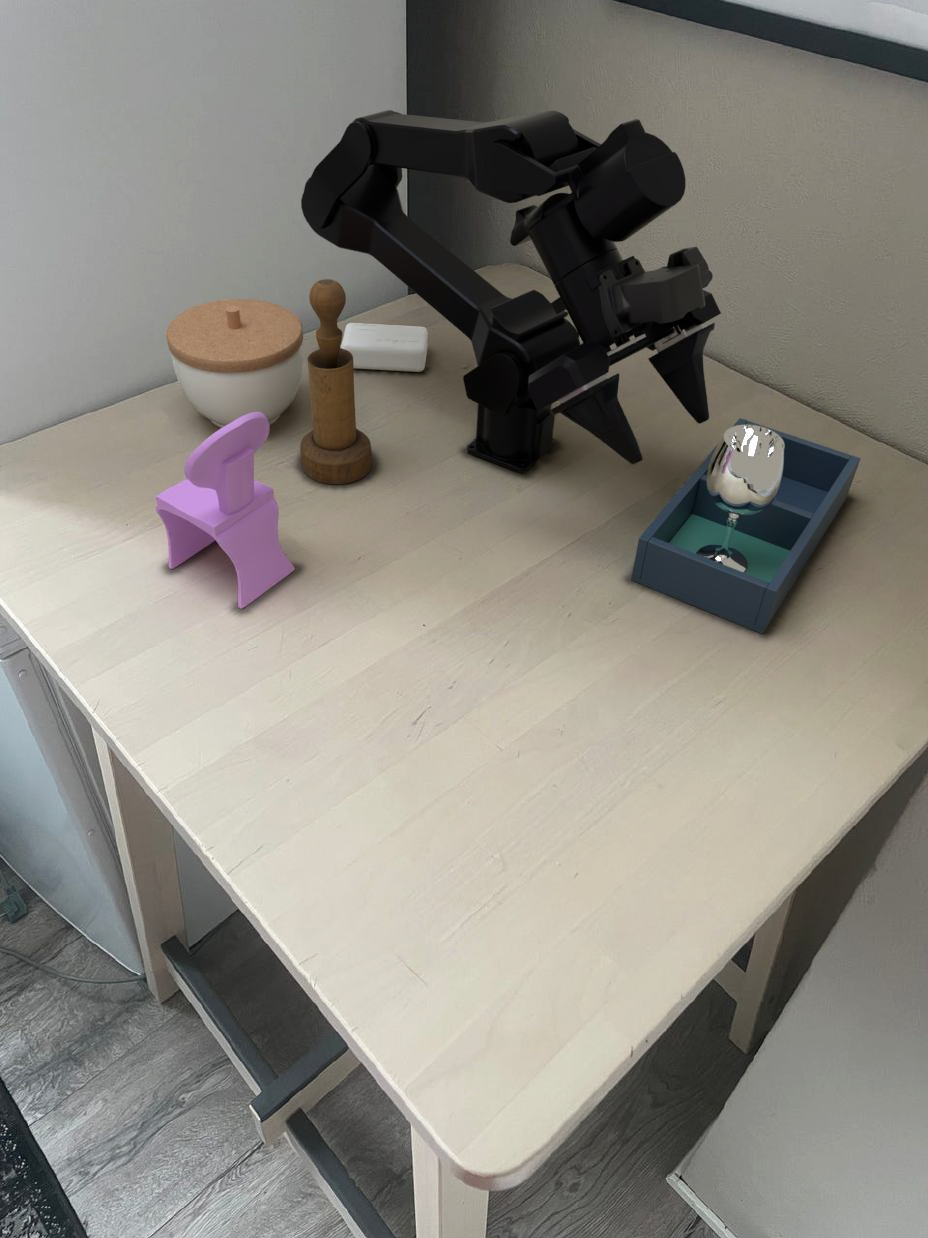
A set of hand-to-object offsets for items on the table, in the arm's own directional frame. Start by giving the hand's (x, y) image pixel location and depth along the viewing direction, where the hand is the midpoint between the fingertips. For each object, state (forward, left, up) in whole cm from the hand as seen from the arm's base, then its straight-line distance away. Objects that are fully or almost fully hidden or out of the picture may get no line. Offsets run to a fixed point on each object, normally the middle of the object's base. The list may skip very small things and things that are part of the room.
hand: (671, 441), depth 85 cm
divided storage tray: (+7, +4, -9) cm, 12 cm away
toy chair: (-27, -25, -9) cm, 38 cm away
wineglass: (+7, -2, -9) cm, 11 cm away
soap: (-37, +11, -9) cm, 40 cm away
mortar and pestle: (-29, -8, -9) cm, 32 cm away
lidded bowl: (-42, -6, -9) cm, 43 cm away
